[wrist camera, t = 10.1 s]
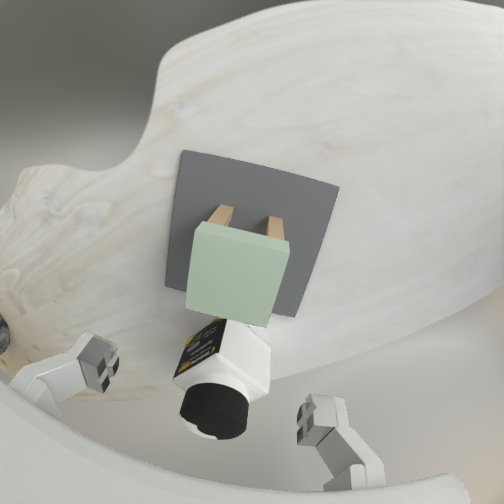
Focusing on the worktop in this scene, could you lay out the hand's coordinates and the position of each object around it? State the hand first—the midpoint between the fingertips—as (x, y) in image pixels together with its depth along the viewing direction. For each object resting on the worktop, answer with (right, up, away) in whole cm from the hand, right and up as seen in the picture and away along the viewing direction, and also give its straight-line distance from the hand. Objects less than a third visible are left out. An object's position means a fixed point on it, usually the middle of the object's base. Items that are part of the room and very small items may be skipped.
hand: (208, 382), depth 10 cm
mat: (+1, +6, +16) cm, 17 cm away
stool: (+1, +6, +15) cm, 17 cm away
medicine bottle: (-1, -5, +21) cm, 22 cm away
